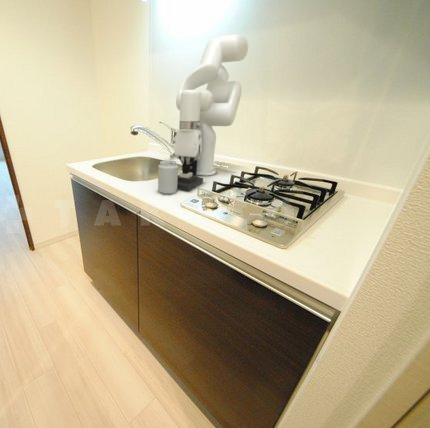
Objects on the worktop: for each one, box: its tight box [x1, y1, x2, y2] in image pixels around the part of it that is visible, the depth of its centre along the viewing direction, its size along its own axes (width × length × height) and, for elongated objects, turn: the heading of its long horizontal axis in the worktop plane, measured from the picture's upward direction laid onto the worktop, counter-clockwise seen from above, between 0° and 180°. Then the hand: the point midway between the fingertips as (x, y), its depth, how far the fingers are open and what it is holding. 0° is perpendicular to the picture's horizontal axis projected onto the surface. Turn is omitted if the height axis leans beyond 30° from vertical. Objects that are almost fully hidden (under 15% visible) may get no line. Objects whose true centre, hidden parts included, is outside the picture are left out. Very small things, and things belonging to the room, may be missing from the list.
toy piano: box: [177, 174, 204, 193], centre depth 97 cm, size 14×10×4 cm
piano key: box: [179, 172, 193, 178], centre depth 96 cm, size 4×4×2 cm
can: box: [157, 159, 179, 195], centre depth 88 cm, size 8×8×12 cm
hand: (185, 173), depth 96 cm, fingers closed
